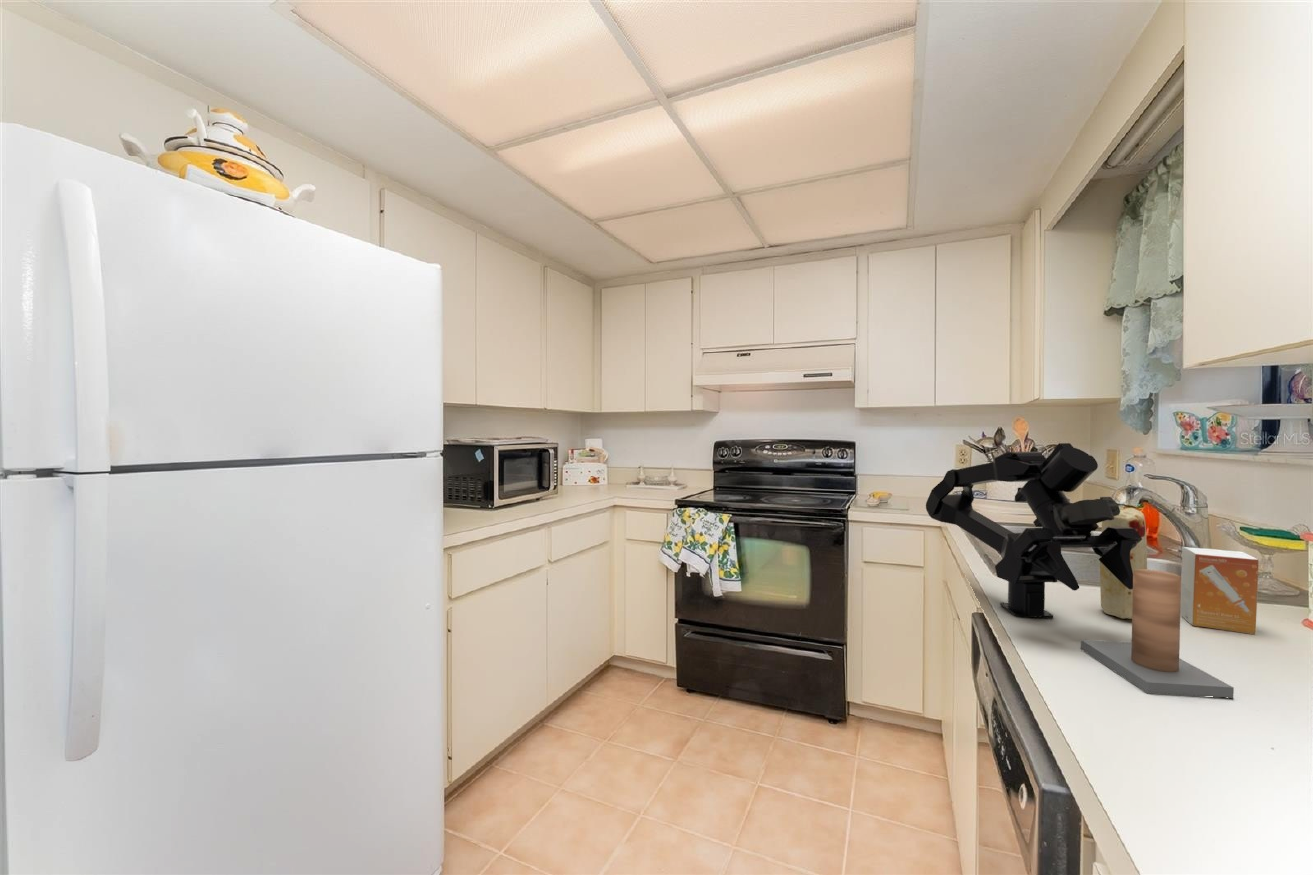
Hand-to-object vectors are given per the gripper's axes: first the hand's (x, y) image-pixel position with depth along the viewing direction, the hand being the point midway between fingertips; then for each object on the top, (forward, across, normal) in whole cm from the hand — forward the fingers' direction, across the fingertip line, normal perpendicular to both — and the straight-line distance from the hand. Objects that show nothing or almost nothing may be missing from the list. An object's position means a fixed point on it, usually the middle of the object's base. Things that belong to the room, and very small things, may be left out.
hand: (1104, 588), depth 84 cm
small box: (+1, +29, +13) cm, 32 cm away
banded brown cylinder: (+12, 0, 0) cm, 12 cm away
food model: (-3, +17, +17) cm, 24 cm away
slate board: (+12, 0, +2) cm, 12 cm away
